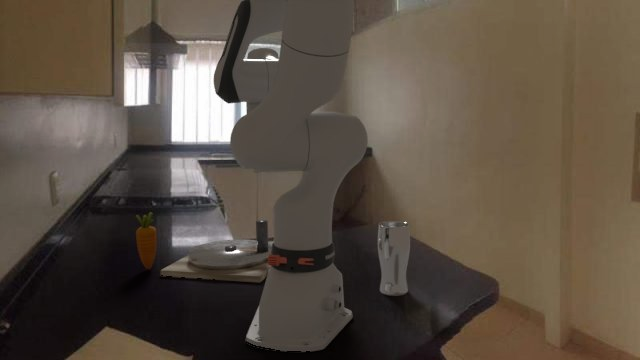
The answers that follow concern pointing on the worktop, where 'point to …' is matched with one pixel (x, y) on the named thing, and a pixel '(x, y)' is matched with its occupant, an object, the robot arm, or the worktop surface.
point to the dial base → (217, 272)
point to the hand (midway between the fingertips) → (265, 169)
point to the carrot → (146, 241)
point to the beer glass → (393, 256)
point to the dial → (233, 252)
